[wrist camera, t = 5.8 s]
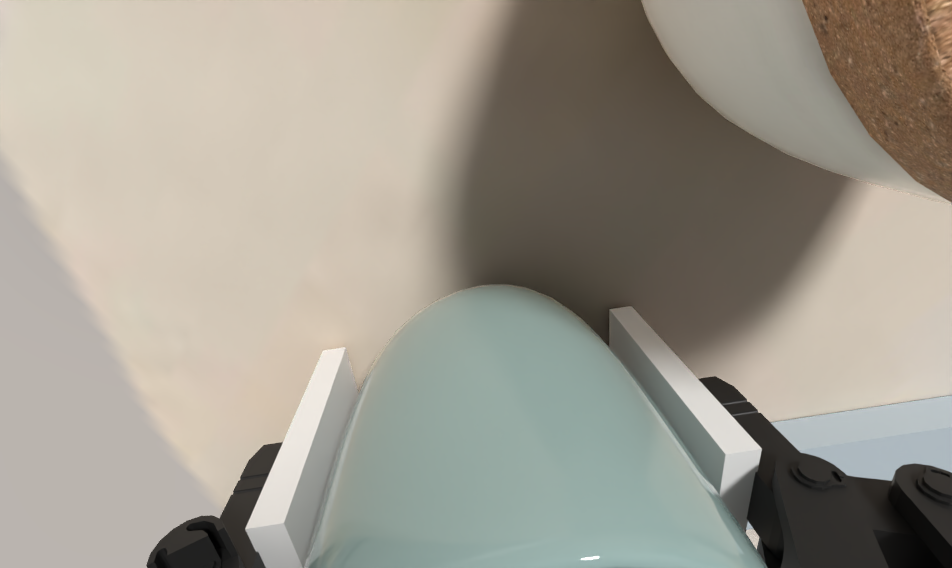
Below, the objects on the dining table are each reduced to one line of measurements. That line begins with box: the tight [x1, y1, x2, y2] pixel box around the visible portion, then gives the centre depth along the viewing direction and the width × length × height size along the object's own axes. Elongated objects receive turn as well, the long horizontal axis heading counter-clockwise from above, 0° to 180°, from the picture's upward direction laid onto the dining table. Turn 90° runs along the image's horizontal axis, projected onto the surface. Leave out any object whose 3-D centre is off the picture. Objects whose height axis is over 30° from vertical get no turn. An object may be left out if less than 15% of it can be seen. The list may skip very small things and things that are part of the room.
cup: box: [304, 284, 768, 568], centre depth 11 cm, size 8×8×10 cm
